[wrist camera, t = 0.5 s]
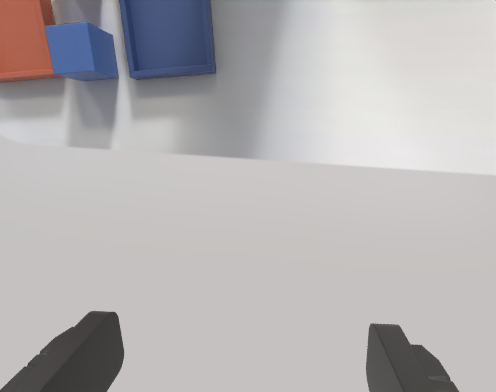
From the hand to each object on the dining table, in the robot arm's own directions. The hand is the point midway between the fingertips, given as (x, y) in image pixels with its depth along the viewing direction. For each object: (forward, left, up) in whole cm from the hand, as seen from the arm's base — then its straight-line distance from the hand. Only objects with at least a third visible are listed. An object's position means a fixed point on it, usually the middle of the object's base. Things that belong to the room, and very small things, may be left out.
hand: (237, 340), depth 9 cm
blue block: (-15, -19, -26) cm, 36 cm away
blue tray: (-19, -10, -26) cm, 34 cm away
